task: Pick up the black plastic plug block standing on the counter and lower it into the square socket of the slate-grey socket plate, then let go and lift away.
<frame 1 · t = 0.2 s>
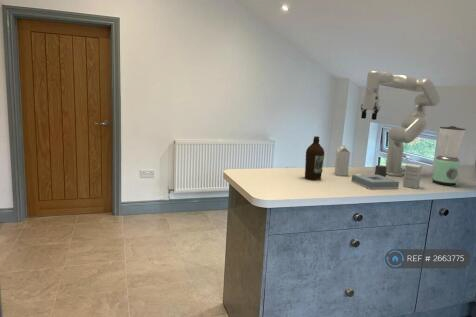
hand: (368, 119, 228), 36 cm above the table, tool pointing down, fingers open, 9 cm apart
socket plate: (374, 184, 207), on the table
milk carton: (340, 174, 231), on the table
olive oil: (312, 178, 215), on the table
plug: (379, 178, 225), on the table
supplement box: (410, 187, 208), on the table
mint green blender: (443, 183, 222), on the table
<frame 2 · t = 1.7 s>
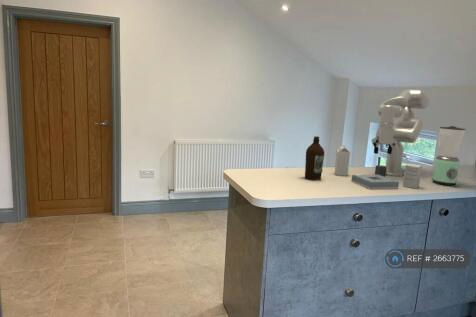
hand: (382, 153, 222), 16 cm above the table, tool pointing down, fingers open, 9 cm apart
nothing on the table moved.
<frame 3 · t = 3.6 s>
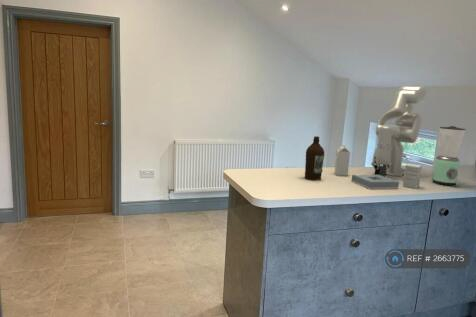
hand: (380, 175, 225), 2 cm above the table, tool pointing down, fingers closed on plug, 4 cm apart
plug: (379, 178, 225), on the table, touching gripper
everything else where it was.
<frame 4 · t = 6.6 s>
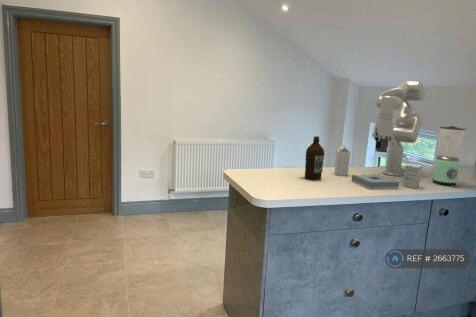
hand: (381, 148, 214), 20 cm above the table, tool pointing down, fingers closed on plug, 4 cm apart
plug: (380, 151, 214), point 18 cm above the table, touching gripper
everything else where it was.
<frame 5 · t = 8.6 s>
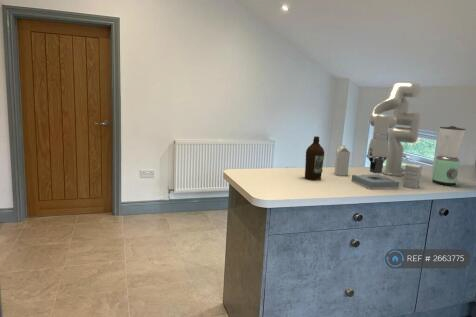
hand: (376, 168, 205), 10 cm above the table, tool pointing down, fingers closed on plug, 4 cm apart
plug: (375, 172, 205), point 7 cm above the table, touching gripper
everything else where it was.
when the fingers open (5 cm above the table, at t = 10.1 s): plug drops 1 cm, resting on socket plate.
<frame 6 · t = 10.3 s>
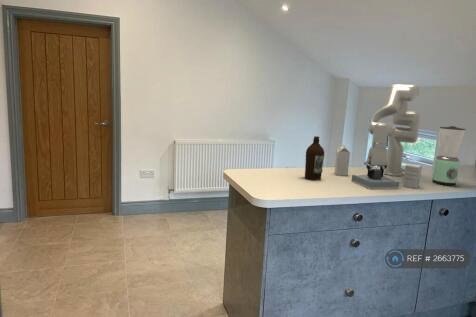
hand: (375, 176, 206), 5 cm above the table, tool pointing down, fingers open, 6 cm apart
plug: (374, 183, 207), point 1 cm above the table, touching socket plate
everything else where it was.
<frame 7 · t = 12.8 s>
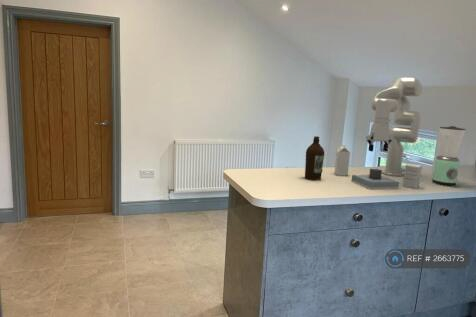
hand: (378, 151, 207), 19 cm above the table, tool pointing down, fingers open, 9 cm apart
nothing on the table moved.
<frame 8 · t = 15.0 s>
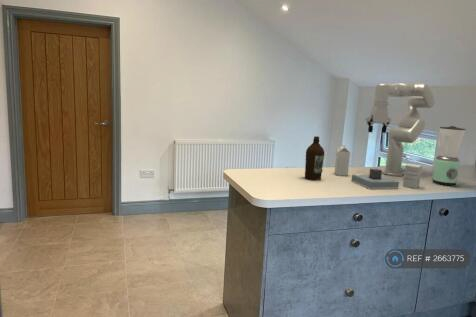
hand: (377, 132, 223), 28 cm above the table, tool pointing down, fingers open, 9 cm apart
nothing on the table moved.
at the end: plug 0.0 cm off-centre on the socket plate, point 1.0 cm above the socket plate's base; plug tilted 0°; the gripper is holding nothing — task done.
